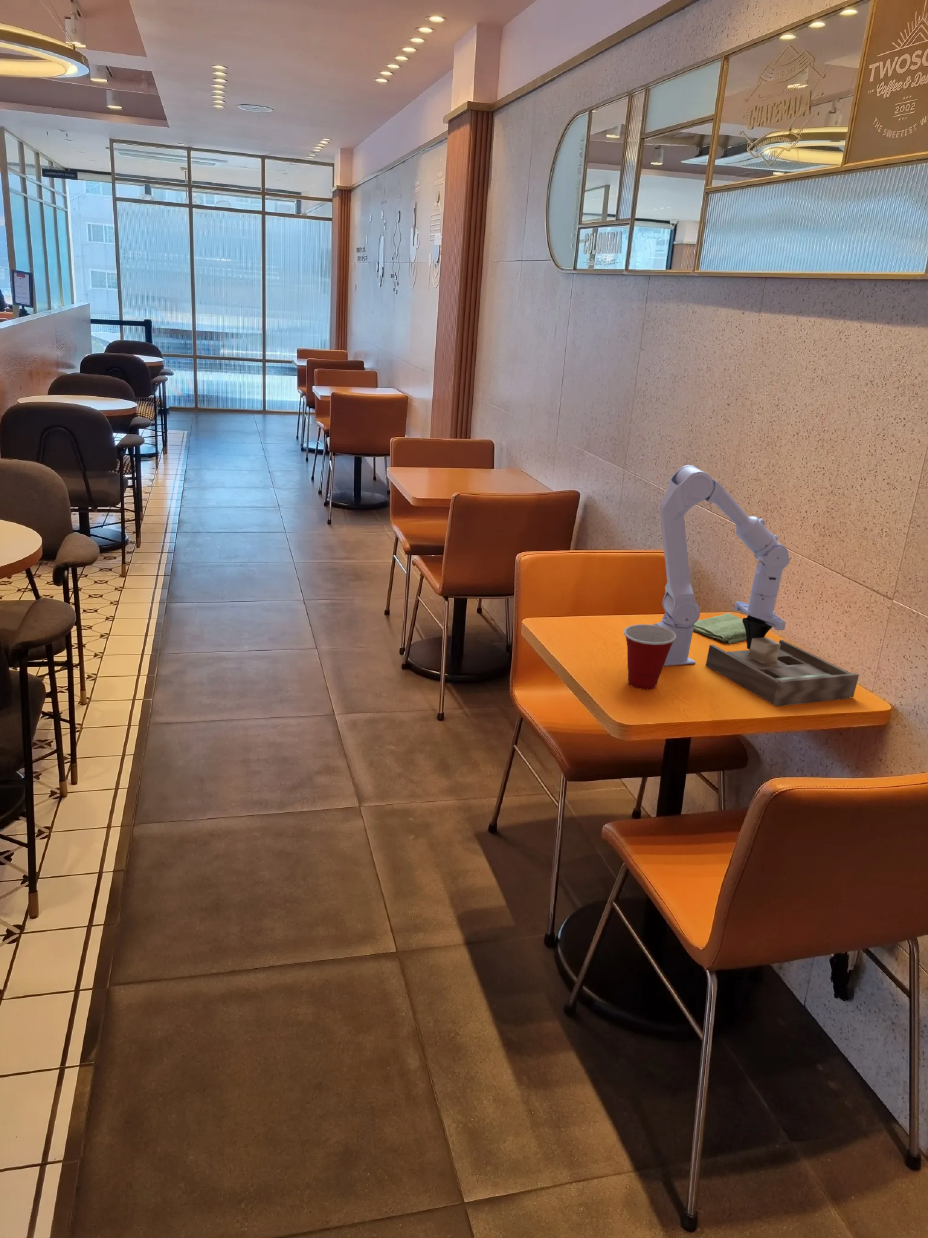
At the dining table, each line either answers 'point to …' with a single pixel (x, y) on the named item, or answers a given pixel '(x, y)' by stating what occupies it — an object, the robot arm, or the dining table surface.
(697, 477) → the robot arm
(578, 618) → the dining table surface
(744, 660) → the trap box
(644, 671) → the plastic cup
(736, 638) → the washcloth
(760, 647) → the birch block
